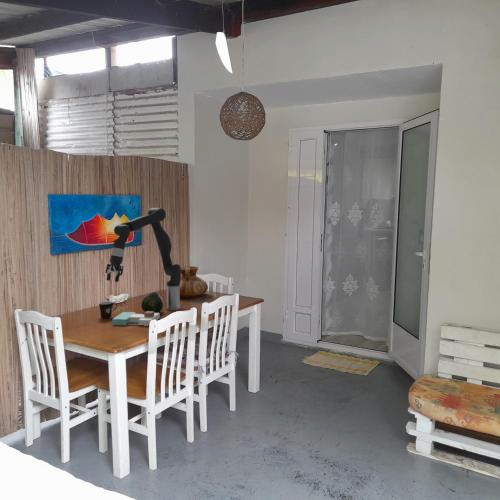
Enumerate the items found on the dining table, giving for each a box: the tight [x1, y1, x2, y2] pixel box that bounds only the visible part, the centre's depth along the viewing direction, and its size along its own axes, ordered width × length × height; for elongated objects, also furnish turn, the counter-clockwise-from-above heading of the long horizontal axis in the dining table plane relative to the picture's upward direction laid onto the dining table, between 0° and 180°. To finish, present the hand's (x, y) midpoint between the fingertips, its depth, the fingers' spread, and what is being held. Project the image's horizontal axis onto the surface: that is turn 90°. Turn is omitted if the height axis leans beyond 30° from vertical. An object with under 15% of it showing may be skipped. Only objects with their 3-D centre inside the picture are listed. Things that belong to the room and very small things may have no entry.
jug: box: [180, 265, 209, 299], centre depth 370 cm, size 30×30×25 cm
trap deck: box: [112, 311, 161, 327], centre depth 293 cm, size 18×25×4 cm
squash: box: [141, 292, 164, 313], centre depth 316 cm, size 14×15×15 cm
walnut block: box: [143, 311, 155, 317], centre depth 292 cm, size 5×5×2 cm
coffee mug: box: [98, 300, 118, 320], centre depth 303 cm, size 12×9×10 cm
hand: (112, 281), depth 282 cm, fingers open, 8 cm apart
